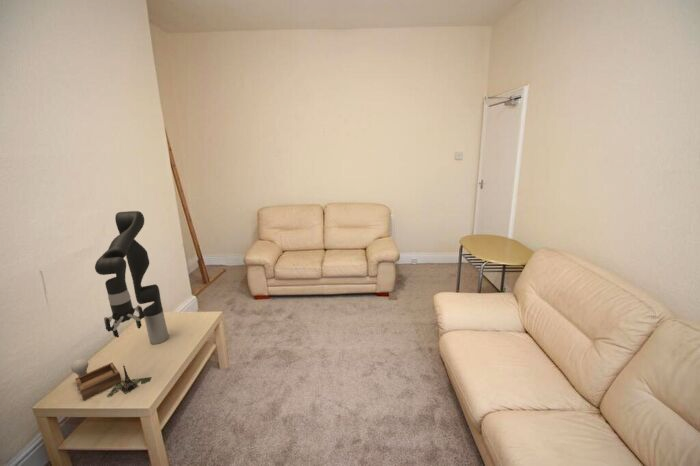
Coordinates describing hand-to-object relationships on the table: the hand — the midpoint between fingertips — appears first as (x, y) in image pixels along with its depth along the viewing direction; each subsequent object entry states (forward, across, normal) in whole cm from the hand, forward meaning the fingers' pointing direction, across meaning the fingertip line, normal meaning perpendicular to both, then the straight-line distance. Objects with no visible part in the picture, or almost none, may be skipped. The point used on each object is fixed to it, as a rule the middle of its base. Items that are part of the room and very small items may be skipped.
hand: (128, 332), depth 141 cm
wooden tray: (+24, +13, -9) cm, 29 cm away
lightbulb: (+24, +17, -19) cm, 35 cm away
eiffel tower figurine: (+25, +5, +4) cm, 26 cm away
